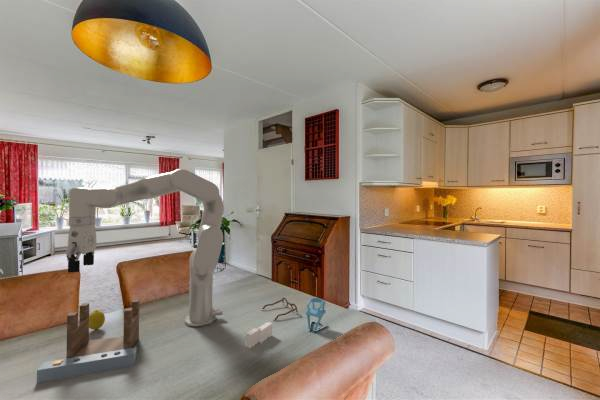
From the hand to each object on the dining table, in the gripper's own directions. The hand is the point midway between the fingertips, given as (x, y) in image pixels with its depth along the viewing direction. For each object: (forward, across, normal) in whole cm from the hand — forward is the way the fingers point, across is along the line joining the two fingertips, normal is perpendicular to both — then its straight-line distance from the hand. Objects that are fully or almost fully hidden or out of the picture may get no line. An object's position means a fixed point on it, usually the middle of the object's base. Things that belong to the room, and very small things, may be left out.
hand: (81, 268), depth 98 cm
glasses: (+27, +11, -76) cm, 81 cm away
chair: (+27, -7, -88) cm, 92 cm away
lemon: (+27, +8, -2) cm, 29 cm away
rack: (+27, -7, -11) cm, 30 cm away
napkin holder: (+27, -12, -63) cm, 70 cm away
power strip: (+27, -18, -11) cm, 35 cm away
